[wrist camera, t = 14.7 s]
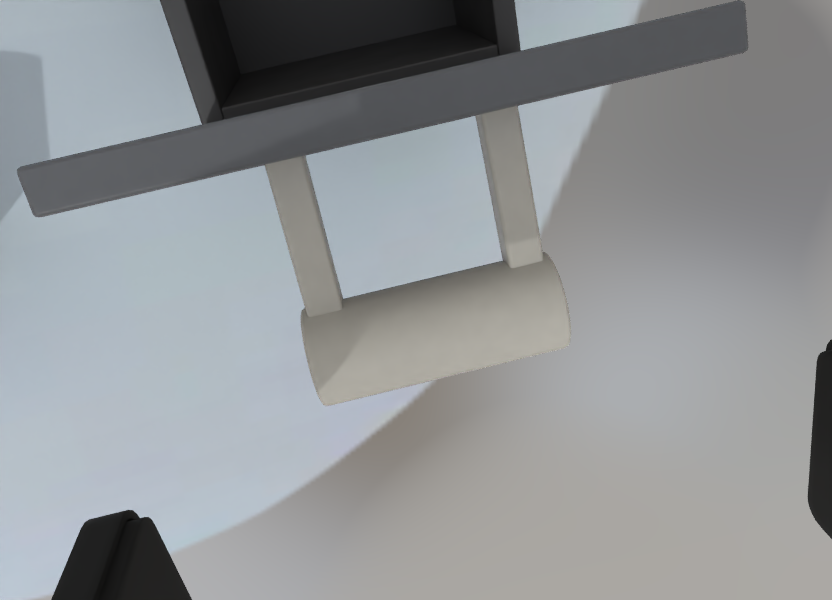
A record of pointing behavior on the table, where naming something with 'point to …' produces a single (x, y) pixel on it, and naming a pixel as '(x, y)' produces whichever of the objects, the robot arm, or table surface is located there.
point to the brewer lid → (383, 116)
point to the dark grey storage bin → (325, 46)
